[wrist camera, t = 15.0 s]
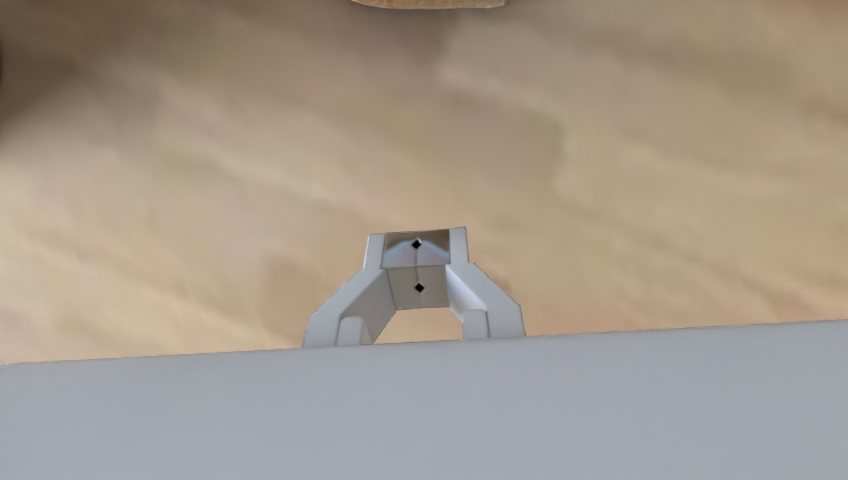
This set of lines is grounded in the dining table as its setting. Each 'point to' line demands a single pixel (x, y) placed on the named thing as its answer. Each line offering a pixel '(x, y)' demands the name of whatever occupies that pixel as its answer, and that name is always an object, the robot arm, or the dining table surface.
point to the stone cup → (433, 4)
